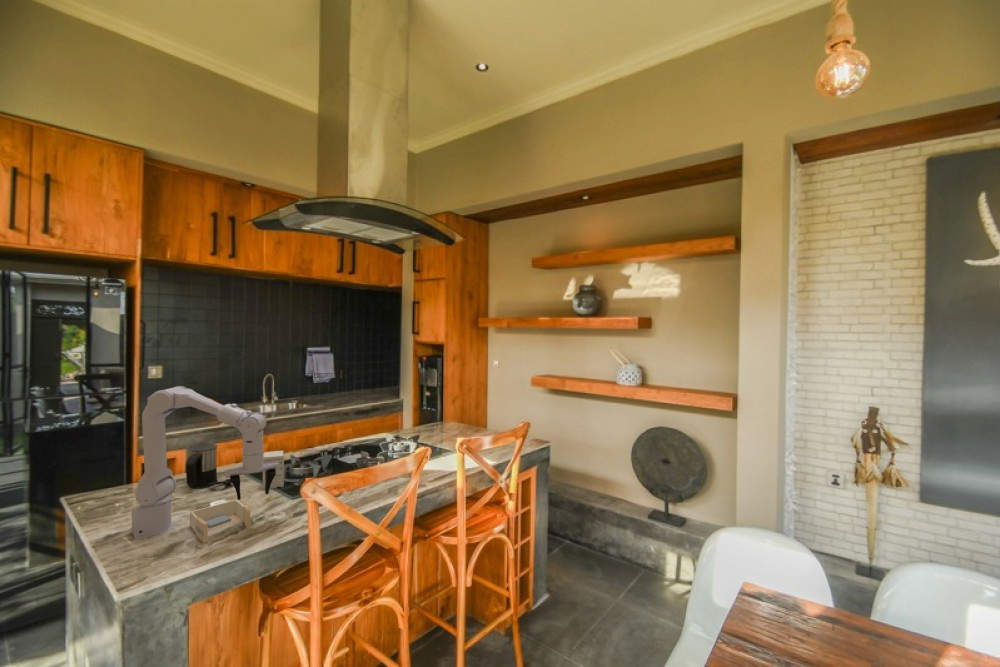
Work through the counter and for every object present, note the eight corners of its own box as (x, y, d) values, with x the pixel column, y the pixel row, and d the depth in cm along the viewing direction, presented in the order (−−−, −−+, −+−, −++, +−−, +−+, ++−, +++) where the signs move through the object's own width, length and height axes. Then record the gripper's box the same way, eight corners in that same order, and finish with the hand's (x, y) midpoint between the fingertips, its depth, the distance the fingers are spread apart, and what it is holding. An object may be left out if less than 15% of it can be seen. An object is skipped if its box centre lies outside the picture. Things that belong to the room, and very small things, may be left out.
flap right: (244, 521, 141) (244, 504, 141) (247, 520, 141) (248, 503, 141) (246, 529, 136) (246, 512, 135) (250, 528, 136) (250, 511, 136)
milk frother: (193, 481, 175) (193, 444, 175) (238, 477, 181) (238, 441, 181) (182, 495, 162) (182, 455, 161) (232, 489, 168) (232, 451, 167)
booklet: (210, 528, 136) (210, 525, 136) (203, 524, 138) (203, 521, 138) (231, 520, 141) (231, 518, 141) (224, 517, 143) (224, 514, 143)
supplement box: (263, 483, 174) (263, 452, 174) (284, 481, 177) (284, 450, 177) (262, 490, 168) (262, 457, 167) (283, 487, 171) (283, 455, 170)
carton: (197, 536, 132) (197, 519, 132) (190, 527, 137) (190, 511, 137) (245, 521, 141) (245, 506, 141) (236, 514, 147) (236, 499, 147)
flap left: (195, 536, 131) (195, 518, 131) (199, 534, 132) (199, 516, 132) (203, 543, 127) (203, 524, 127) (207, 542, 128) (207, 523, 127)
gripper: (276, 446, 145) (276, 487, 145) (224, 453, 136) (224, 496, 137) (280, 451, 139) (280, 494, 139) (226, 459, 130) (226, 504, 131)
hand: (253, 496), depth 138 cm, fingers open, 7 cm apart
